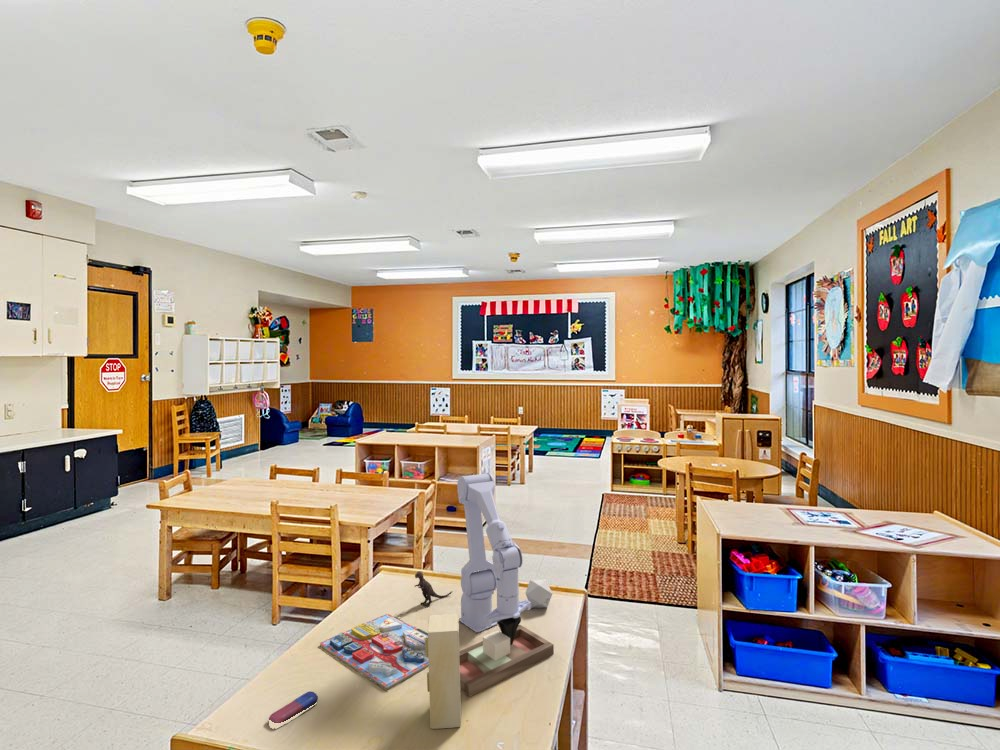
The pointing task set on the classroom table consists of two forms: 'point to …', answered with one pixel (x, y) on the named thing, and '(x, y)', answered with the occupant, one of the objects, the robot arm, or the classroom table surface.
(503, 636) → the block
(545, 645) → the tray
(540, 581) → the die
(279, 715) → the eraser
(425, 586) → the dinosaur model
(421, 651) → the puzzle board
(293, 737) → the classroom table surface
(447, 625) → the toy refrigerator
